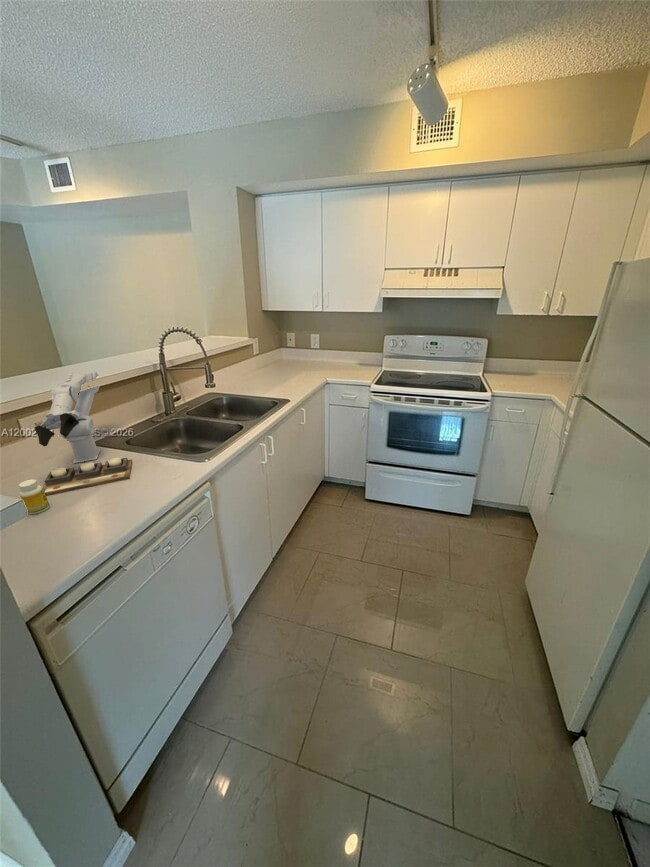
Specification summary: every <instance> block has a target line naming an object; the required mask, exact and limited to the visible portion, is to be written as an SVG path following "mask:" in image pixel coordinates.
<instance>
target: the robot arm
mask: <svg viewBox="0 0 650 867" xmlns="http://www.w3.org/2000/svg"><path fill="white" fill-rule="evenodd" d="M97 376H99V374H98V372H97V371H94V370H93V371H86V372H76V373H75V372H72V373H70V374H69V375H68V378H67V379H65V381H64V382H63V383H62V384H61V385H60V386H58V387H54V388H53V389H51V402H52V404H51V407H50V410H49V412H48V413H45V416H44V417H46V418H45V419H44V420H43V421H42V423H41V424H40V425H39V424H38V425H36V426H34V428H33V429H34V431H35V433H36V434H37V436H38V437H37V438H38V444H39V445H41V446H43V447H44V448H45V447H47V446H48V445H49V443H50V440H51V438H52V437H54V436H55V435H56V433H55V432H53V431H52V430H56V429H58V431H59V432H58V433H59V434H60V437H62V438H63V439H64V440H65V439H66V441H67V442H69V445H70V448H71V450H72V453H73V455H74V459H73V461H72V464H79V463H84V461H85V462H91V461H95V460H97V459H98V457H99V454H100V452H101V449H100V448H97V444H96V441H95V438H94V436H93V434H94V433H95V424H94V421H93V419H92V417H91V416H89V415H90V411H91V409H92V405H93V401H94V397H95V394H96V393H98V392H99V390H100V386H96V387H93V388H90V389H87V390H85V391H82V392H80V390H81V385H82V384H84V383H85V382H86V381H89V380H93V379H96V377H97ZM79 392H80V393H79ZM78 393H79V395H78ZM74 402H76V404H75V405H74ZM73 406H74V409H73ZM72 409H73V410H72ZM90 460H91V461H90ZM78 462H79V463H78Z"/></svg>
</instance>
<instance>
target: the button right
mask: <svg viewBox="0 0 650 867" xmlns="http://www.w3.org/2000/svg"><path fill="white" fill-rule="evenodd" d="M121 459H122V458H121V457H119V456H116V457H115V456H114V457H112V458H109V459H108V460H107V461H108V463H109V466H110V467H115V466H121V465H122V461H121Z"/></svg>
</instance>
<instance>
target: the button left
mask: <svg viewBox="0 0 650 867" xmlns="http://www.w3.org/2000/svg"><path fill="white" fill-rule="evenodd" d="M66 469H67V468H66V467H65V466H62V467H61V466H60V467H57V468H54V469H52V470H51V471H50V472H51V474H52V476H53V478H57V477H63V476H67V472H66Z"/></svg>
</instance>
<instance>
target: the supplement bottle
mask: <svg viewBox="0 0 650 867" xmlns="http://www.w3.org/2000/svg"><path fill="white" fill-rule="evenodd" d="M18 487H19V489H20V491H19V496H20V498H21V500H22V499H23V500H24V502H25V505H26V507H27V510H28V512H27V513H28V514H30V515H37V514H41V513H43V512H45V511H46V510H48V509H49V508H50V502H49V500H48V498H47V496H46V495H45V493H44V490H43V486H41V485H40V484H38V481H37V480H36V479H28V480H25V481H22V482H20V483H19V484H18ZM25 505H24V506H25ZM26 507H25V508H26ZM27 510H26V511H27Z"/></svg>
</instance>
